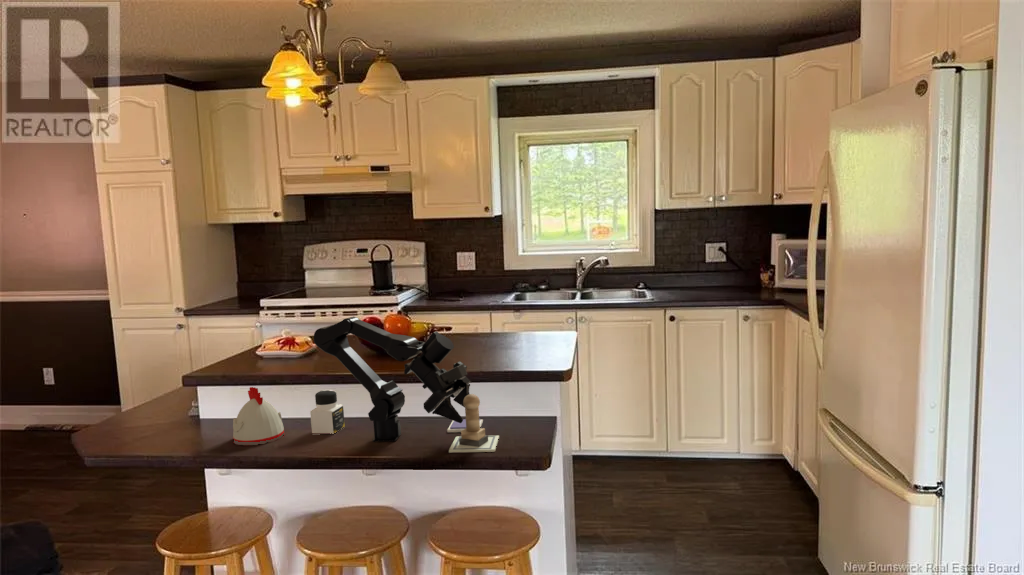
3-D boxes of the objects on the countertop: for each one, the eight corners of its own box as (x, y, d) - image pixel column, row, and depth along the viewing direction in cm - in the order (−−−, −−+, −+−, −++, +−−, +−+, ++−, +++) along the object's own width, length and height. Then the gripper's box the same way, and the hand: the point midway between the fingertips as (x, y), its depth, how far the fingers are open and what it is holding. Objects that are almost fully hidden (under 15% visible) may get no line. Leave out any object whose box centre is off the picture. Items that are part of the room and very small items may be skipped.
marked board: (448, 452, 168) (448, 449, 168) (456, 438, 179) (456, 436, 179) (494, 451, 167) (494, 449, 167) (499, 437, 178) (499, 435, 178)
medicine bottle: (334, 435, 188) (330, 394, 187) (311, 434, 189) (308, 394, 188) (345, 427, 195) (342, 388, 194) (323, 427, 196) (320, 388, 195)
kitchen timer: (272, 427, 199) (268, 379, 197) (292, 436, 189) (288, 386, 187) (225, 439, 189) (221, 389, 188) (245, 449, 179) (240, 396, 178)
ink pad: (447, 432, 185) (447, 428, 185) (453, 422, 194) (452, 418, 194) (478, 431, 184) (478, 427, 184) (482, 422, 193) (482, 418, 193)
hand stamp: (459, 444, 172) (456, 395, 171) (468, 438, 177) (466, 391, 175) (479, 446, 170) (476, 397, 168) (488, 440, 174) (485, 392, 173)
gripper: (431, 361, 164) (473, 407, 162) (462, 347, 182) (500, 388, 179) (406, 390, 168) (446, 435, 165) (438, 374, 185) (475, 414, 182)
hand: (469, 416), depth 173 cm, fingers open, 9 cm apart
